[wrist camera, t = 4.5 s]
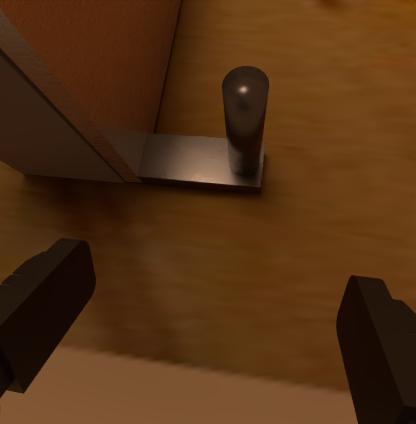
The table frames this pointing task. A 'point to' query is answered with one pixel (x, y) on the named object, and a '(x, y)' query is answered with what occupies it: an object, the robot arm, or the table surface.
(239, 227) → the table surface
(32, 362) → the robot arm
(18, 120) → the block
